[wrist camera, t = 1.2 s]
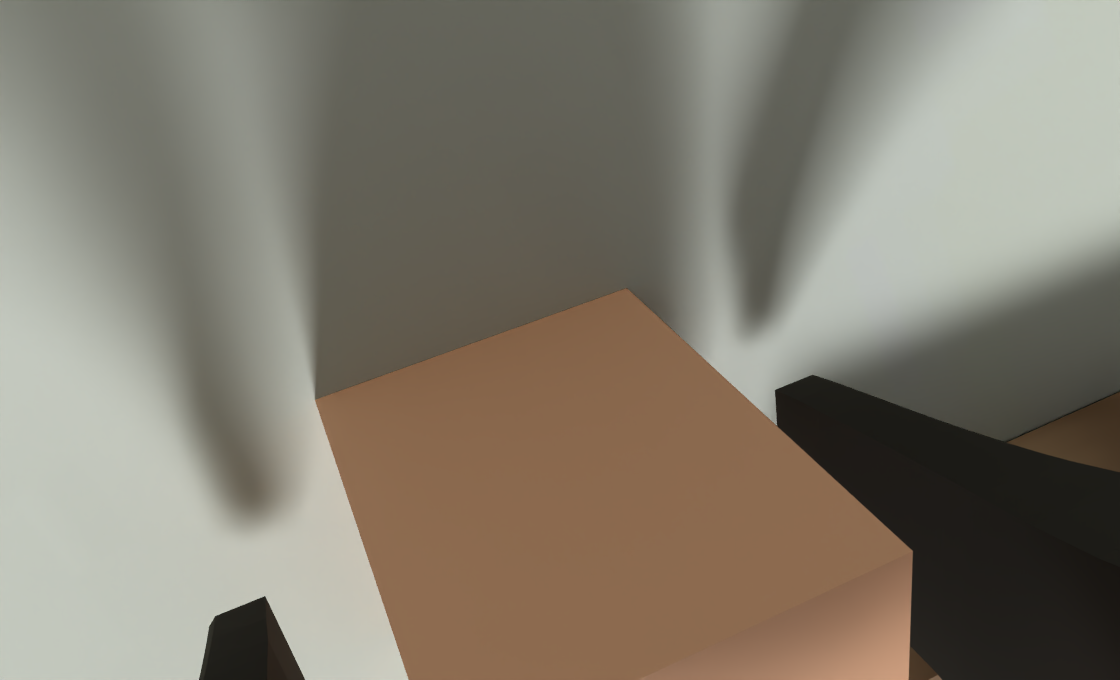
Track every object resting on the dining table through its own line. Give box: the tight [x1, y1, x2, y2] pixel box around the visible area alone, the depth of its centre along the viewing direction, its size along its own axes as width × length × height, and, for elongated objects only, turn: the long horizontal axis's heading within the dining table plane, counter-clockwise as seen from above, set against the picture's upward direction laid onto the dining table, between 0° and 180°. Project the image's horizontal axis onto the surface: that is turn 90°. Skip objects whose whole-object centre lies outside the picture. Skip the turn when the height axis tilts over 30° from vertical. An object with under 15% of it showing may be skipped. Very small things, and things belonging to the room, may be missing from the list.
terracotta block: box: [315, 288, 913, 680], centre depth 12 cm, size 4×4×6 cm
